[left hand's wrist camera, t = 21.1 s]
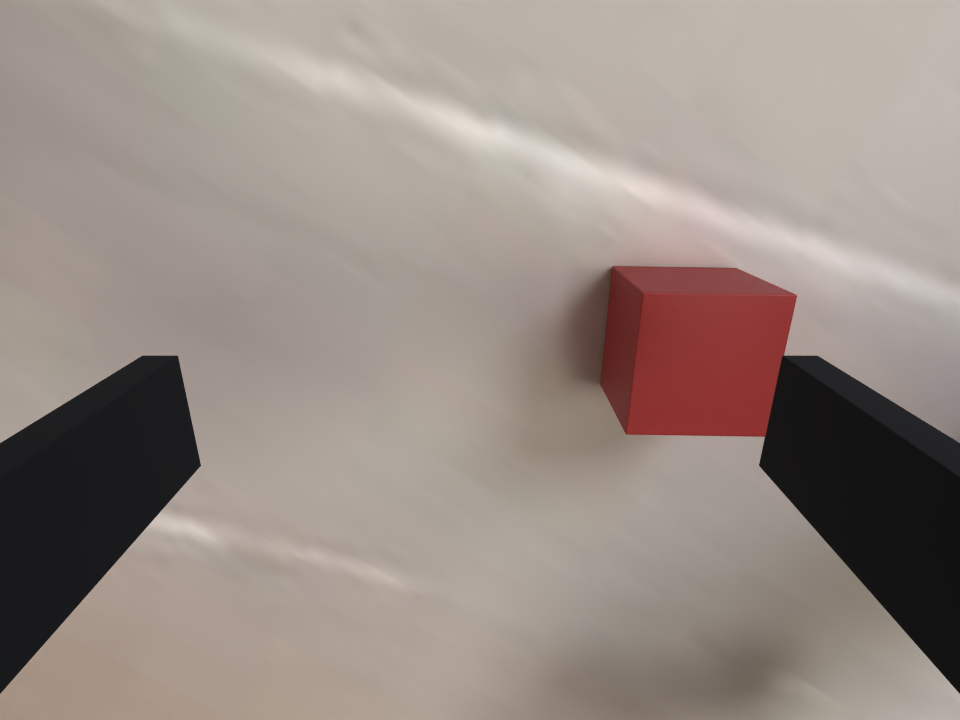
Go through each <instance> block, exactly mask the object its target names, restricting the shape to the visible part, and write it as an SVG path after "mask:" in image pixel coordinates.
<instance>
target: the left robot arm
mask: <svg viewBox="0 0 960 720" xmlns="http://www.w3.org/2000/svg"><path fill="white" fill-rule="evenodd" d="M200 466H201V464H200V459H199V454H198V450H197V445H196V440H195V435H194V431H193V426H192V421H191V416H190V412H189V407H188V402H187V397H186V392H185V388H184V383H183V378H182V373H181V369H180V364H179V359H178V356H141V357H140V358H138V359H136V360H135V361H133V362H132V363H130V364H128V365H127V366H125V367H123V368H122V369H120V370H119V371H117V372H115V373H114V374H112V375H110V376H109V377H107V378H106V379H104V380H102V381H101V382H99V383H97V384H96V385H94V386H93V387H91V388H89V389H88V390H86V391H84V392H83V393H81V394H80V395H78V396H76V397H75V398H73V399H71V400H70V401H68V402H67V403H65V404H63V405H62V406H60V407H58V408H57V409H55V410H54V411H52V412H50V413H49V414H47V415H45V416H44V417H42V418H41V419H39V420H37V421H36V422H34V423H32V424H31V425H29V426H28V427H26V428H24V429H23V430H21V431H19V432H18V433H16V434H15V435H13V436H11V437H10V438H8V439H6V440H5V441H3V442H1V443H0V693H1V692H2V691H3V690H4V689H5V688H6V687H7V685H8V684H9V683H10V682H11V681H12V680H13V679H14V677H15V676H16V675H17V674H18V673H19V672H20V671H21V669H22V668H23V667H24V666H25V665H26V664H27V663H28V661H29V660H30V659H31V658H32V657H33V656H34V655H35V654H36V652H37V651H38V650H39V649H40V648H41V647H42V646H43V644H44V643H45V642H46V641H47V640H48V639H49V638H50V636H51V635H52V634H53V633H54V632H55V631H56V630H57V629H58V627H59V626H60V625H61V624H62V623H63V622H64V621H65V619H66V618H67V617H68V616H69V615H70V614H71V613H72V611H73V610H74V609H75V608H76V607H77V606H78V605H79V604H80V602H81V601H82V600H83V599H84V598H85V597H86V596H87V594H88V593H89V592H90V591H91V590H92V589H93V588H94V586H95V585H96V584H97V583H98V582H99V581H100V580H101V579H102V577H103V576H104V575H105V574H106V573H107V572H108V571H109V569H110V568H111V567H112V566H113V565H114V564H115V563H116V561H117V560H118V559H119V558H120V557H121V556H122V555H123V553H124V552H125V551H126V550H127V549H128V548H129V547H130V546H131V544H132V543H133V542H134V541H135V540H136V539H137V538H138V536H139V535H140V534H141V533H142V532H143V531H144V530H145V528H146V527H147V526H148V525H149V524H150V523H151V522H152V521H153V519H154V518H155V517H156V516H157V515H158V514H159V513H160V511H161V510H162V509H163V508H164V507H165V506H166V505H167V503H168V502H169V501H170V500H171V499H172V498H173V497H174V496H175V494H176V493H177V492H178V491H179V490H180V489H181V488H182V486H183V485H184V484H185V483H186V482H187V481H188V480H189V478H190V477H191V476H192V475H193V474H194V473H195V472H196V471H197V469H198V468H199V467H200ZM759 466H760V467H761V468H762V469H763V471H764V472H765V473H766V474H767V475H768V476H769V477H770V478H771V480H772V481H773V482H774V483H775V484H776V485H777V486H778V488H779V489H780V490H781V491H782V492H783V493H784V494H785V496H786V497H787V498H788V499H789V500H790V501H791V502H792V503H793V505H794V506H795V507H796V508H797V509H798V510H799V511H800V513H801V514H802V515H803V516H804V517H805V518H806V519H807V521H808V522H809V523H810V524H811V525H812V526H813V527H814V528H815V530H816V531H817V532H818V533H819V534H820V535H821V536H822V538H823V539H824V540H825V541H826V542H827V543H828V544H829V546H830V547H831V548H832V549H833V550H834V551H835V552H836V554H837V555H838V556H839V557H840V558H841V559H842V560H843V561H844V563H845V564H846V565H847V566H848V567H849V568H850V569H851V571H852V572H853V573H854V574H855V575H856V576H857V577H858V579H859V580H860V581H861V582H862V583H863V584H864V585H865V586H866V588H867V589H868V590H869V591H870V592H871V593H872V594H873V596H874V597H875V598H876V599H877V600H878V601H879V602H880V604H881V605H882V606H883V607H884V608H885V609H886V610H887V611H888V613H889V614H890V615H891V616H892V617H893V618H894V619H895V621H896V622H897V623H898V624H899V625H900V626H901V627H902V629H903V630H904V631H905V632H906V633H907V634H908V635H909V636H910V638H911V639H912V640H913V641H914V642H915V643H916V644H917V646H918V647H919V648H920V649H921V650H922V651H923V652H924V654H925V655H926V656H927V657H928V658H929V659H930V660H931V661H932V663H933V664H934V665H935V666H936V667H937V668H938V669H939V671H940V672H941V673H942V674H943V675H944V676H945V677H946V679H947V680H948V681H949V682H950V683H951V684H952V685H953V687H954V688H955V689H956V690H957V691H958V692H959V693H960V443H959V442H957V441H955V440H954V439H952V438H950V437H949V436H947V435H945V434H944V433H942V432H941V431H939V430H937V429H936V428H934V427H932V426H931V425H929V424H928V423H926V422H924V421H923V420H921V419H919V418H918V417H916V416H915V415H913V414H911V413H910V412H908V411H906V410H905V409H903V408H902V407H900V406H898V405H897V404H895V403H893V402H892V401H890V400H889V399H887V398H885V397H884V396H882V395H880V394H879V393H877V392H876V391H874V390H872V389H871V388H869V387H867V386H866V385H864V384H863V383H861V382H859V381H858V380H856V379H854V378H853V377H851V376H850V375H848V374H846V373H845V372H843V371H841V370H840V369H838V368H837V367H835V366H833V365H832V364H830V363H828V362H827V361H825V360H824V359H822V358H820V357H819V356H782V359H781V364H780V369H779V373H778V378H777V383H776V388H775V392H774V397H773V402H772V407H771V412H770V416H769V421H768V426H767V431H766V435H765V440H764V445H763V450H762V454H761V459H760V464H759Z"/></svg>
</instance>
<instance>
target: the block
mask: <svg viewBox="0 0 960 720" xmlns="http://www.w3.org/2000/svg"><path fill="white" fill-rule="evenodd" d="M796 298H797V295H795V294H793V293H791V292H789V291H786V290H784V289H782V288H780V287H777V286H775V285H773V284H771V283H768V282H766V281H764V280H762V279H759V278H757V277H755V276H753V275H750V274H748V273H746V272H744V271H741V270H739V269H737V268H692V267H631V266H613V267H612V274H611V284H610V294H609V304H608V314H607V324H606V335H605V345H604V355H603V365H602V375H601V386H602V388H603V390H604V392H605V394H606V396H607V398H608V400H609V402H610V404H611V406H612V408H613V410H614V412H615V414H616V416H617V418H618V420H619V422H620V423H621V425H622V427H623V429H624V431H625V433H626V434H636V435H698V436H761V437H765V435H766V431H767V426H768V421H769V416H770V412H771V407H772V402H773V397H774V392H775V388H776V383H777V378H778V373H779V369H780V364H781V359H782V356H784V352H785V348H786V343H787V339H788V334H789V330H790V325H791V321H792V316H793V311H794V307H795V302H796Z"/></svg>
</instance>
